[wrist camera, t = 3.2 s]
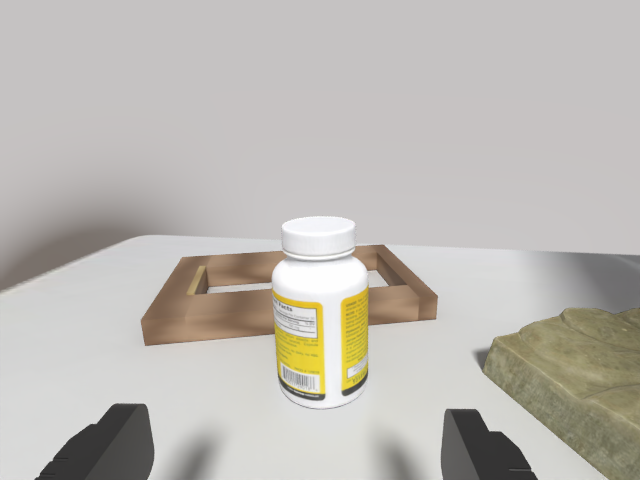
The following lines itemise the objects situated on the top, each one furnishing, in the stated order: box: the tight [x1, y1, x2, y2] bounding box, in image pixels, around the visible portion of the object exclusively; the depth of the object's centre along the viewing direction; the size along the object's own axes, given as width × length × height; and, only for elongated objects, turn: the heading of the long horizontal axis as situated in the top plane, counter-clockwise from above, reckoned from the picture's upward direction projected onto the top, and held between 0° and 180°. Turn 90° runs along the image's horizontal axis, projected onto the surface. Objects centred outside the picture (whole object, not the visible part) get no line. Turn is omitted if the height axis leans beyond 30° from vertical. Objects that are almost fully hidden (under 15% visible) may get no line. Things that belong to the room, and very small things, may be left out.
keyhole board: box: [141, 245, 438, 346], centre depth 35 cm, size 22×14×2 cm, turn 98°
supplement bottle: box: [272, 216, 369, 409], centre depth 21 cm, size 5×5×10 cm
